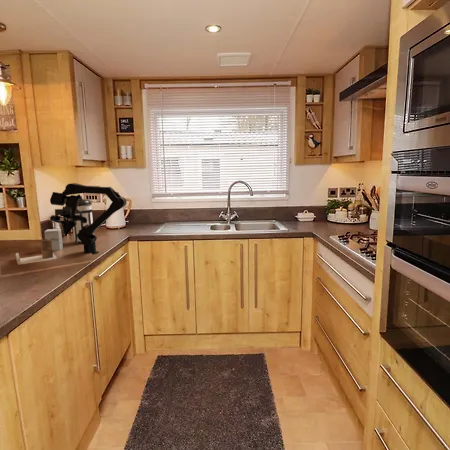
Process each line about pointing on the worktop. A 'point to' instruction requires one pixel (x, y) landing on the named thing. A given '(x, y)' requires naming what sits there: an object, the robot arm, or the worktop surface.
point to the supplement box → (54, 238)
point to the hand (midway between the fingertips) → (65, 235)
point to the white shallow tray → (32, 259)
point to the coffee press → (85, 211)
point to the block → (46, 248)
